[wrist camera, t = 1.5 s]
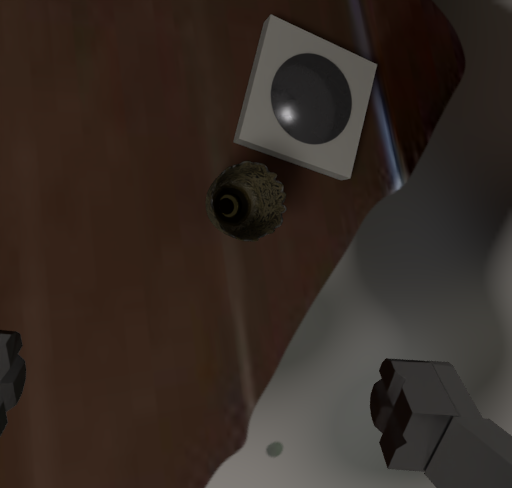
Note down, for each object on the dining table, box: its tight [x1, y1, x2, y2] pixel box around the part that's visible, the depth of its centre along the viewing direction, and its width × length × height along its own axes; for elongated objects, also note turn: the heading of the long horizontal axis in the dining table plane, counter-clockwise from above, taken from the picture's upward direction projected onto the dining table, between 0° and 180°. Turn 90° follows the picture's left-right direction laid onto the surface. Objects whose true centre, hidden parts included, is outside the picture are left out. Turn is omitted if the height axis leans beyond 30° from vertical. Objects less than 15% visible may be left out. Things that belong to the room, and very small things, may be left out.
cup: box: [206, 161, 287, 241], centre depth 47 cm, size 8×7×8 cm
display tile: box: [233, 15, 377, 180], centre depth 52 cm, size 14×14×2 cm
